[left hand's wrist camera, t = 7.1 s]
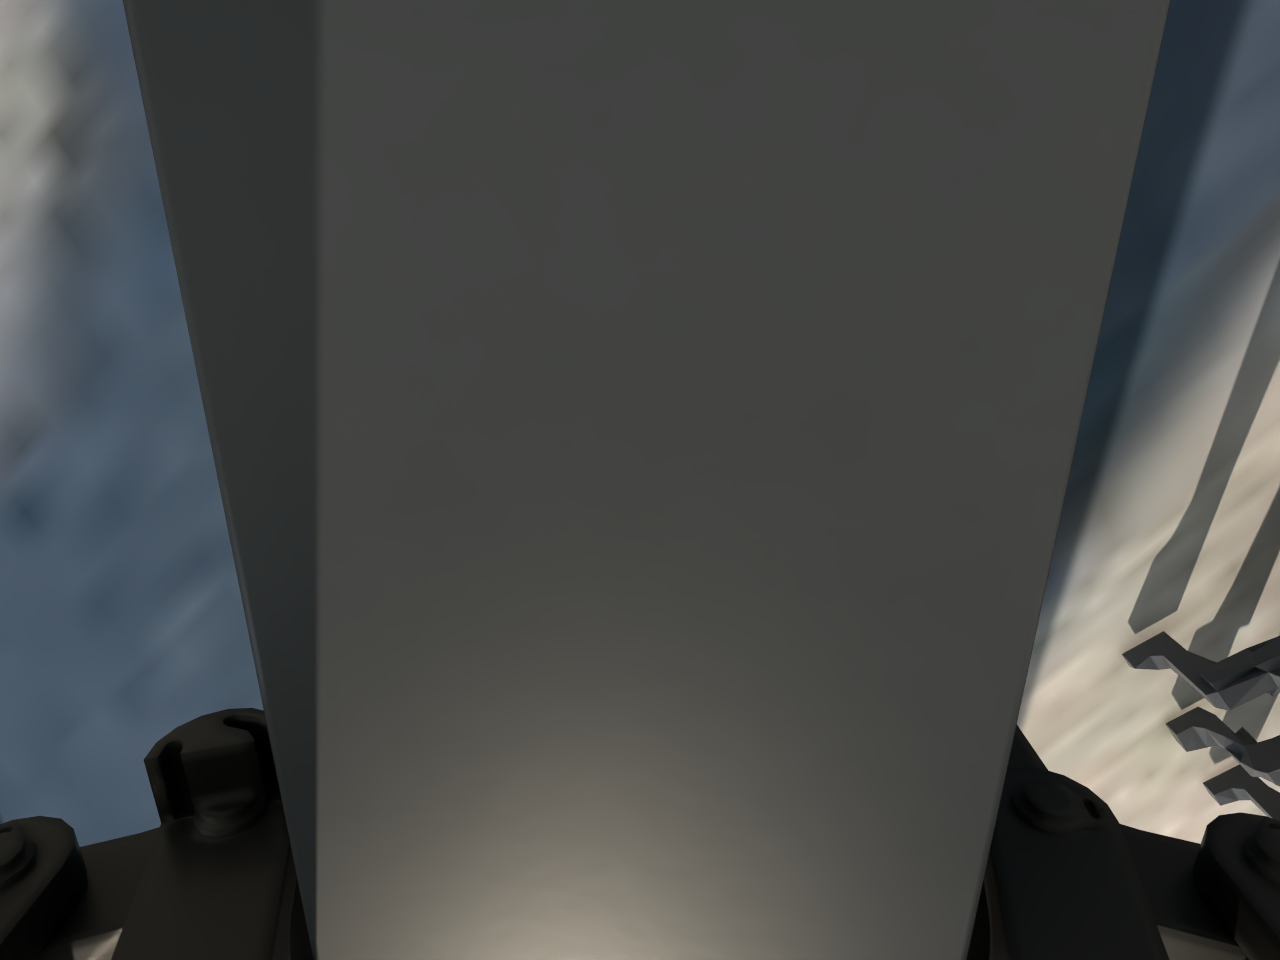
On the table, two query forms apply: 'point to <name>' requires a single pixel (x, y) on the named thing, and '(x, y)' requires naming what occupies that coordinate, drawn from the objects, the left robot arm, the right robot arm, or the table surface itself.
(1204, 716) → the toy
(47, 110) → the table surface
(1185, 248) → the table surface
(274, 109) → the bar
